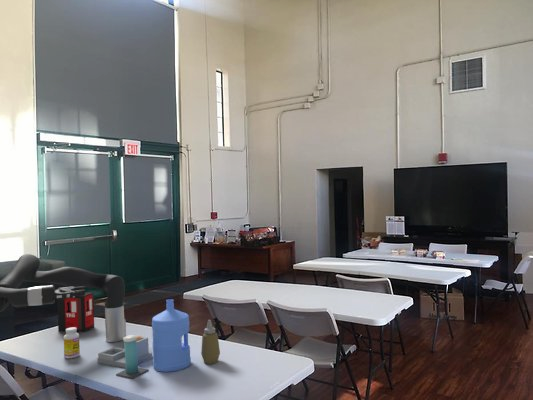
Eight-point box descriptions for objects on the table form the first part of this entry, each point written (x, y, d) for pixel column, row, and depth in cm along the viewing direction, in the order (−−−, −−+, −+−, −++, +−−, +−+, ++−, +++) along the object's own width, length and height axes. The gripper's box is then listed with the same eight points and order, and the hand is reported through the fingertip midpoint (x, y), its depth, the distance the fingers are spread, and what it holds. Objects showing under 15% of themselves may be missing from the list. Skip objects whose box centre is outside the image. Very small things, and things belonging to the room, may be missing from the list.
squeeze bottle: (223, 359, 191) (221, 318, 191) (215, 366, 183) (213, 323, 183) (206, 357, 193) (205, 317, 193) (198, 364, 186) (196, 322, 186)
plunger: (137, 346, 197) (136, 335, 197) (142, 347, 196) (142, 336, 196) (131, 349, 194) (130, 337, 194) (137, 350, 192) (136, 338, 192)
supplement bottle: (73, 359, 198) (72, 330, 198) (61, 358, 199) (59, 330, 199) (82, 354, 204) (81, 326, 204) (70, 353, 206) (69, 326, 206)
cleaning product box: (94, 327, 249) (93, 292, 249) (85, 332, 240) (84, 296, 240) (68, 327, 252) (66, 292, 252) (58, 331, 243) (57, 296, 243)
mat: (132, 367, 185) (132, 366, 185) (148, 370, 180) (148, 369, 180) (116, 375, 177) (116, 374, 177) (132, 379, 173) (132, 377, 173)
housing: (121, 352, 205) (120, 333, 205) (152, 357, 196) (151, 337, 196) (97, 362, 192) (96, 342, 193) (129, 368, 184) (128, 347, 184)
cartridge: (132, 368, 182) (130, 334, 182) (141, 370, 180) (139, 335, 180) (122, 373, 178) (120, 338, 178) (132, 375, 175) (129, 339, 175)
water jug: (158, 375, 175) (155, 306, 175) (149, 363, 189) (147, 299, 189) (195, 367, 182) (193, 300, 182) (184, 356, 196) (182, 294, 196)
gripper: (43, 301, 182) (85, 296, 188) (40, 308, 169) (85, 303, 175) (42, 283, 182) (84, 279, 188) (39, 289, 169) (84, 284, 175)
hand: (84, 290), depth 182 cm, fingers open, 8 cm apart
